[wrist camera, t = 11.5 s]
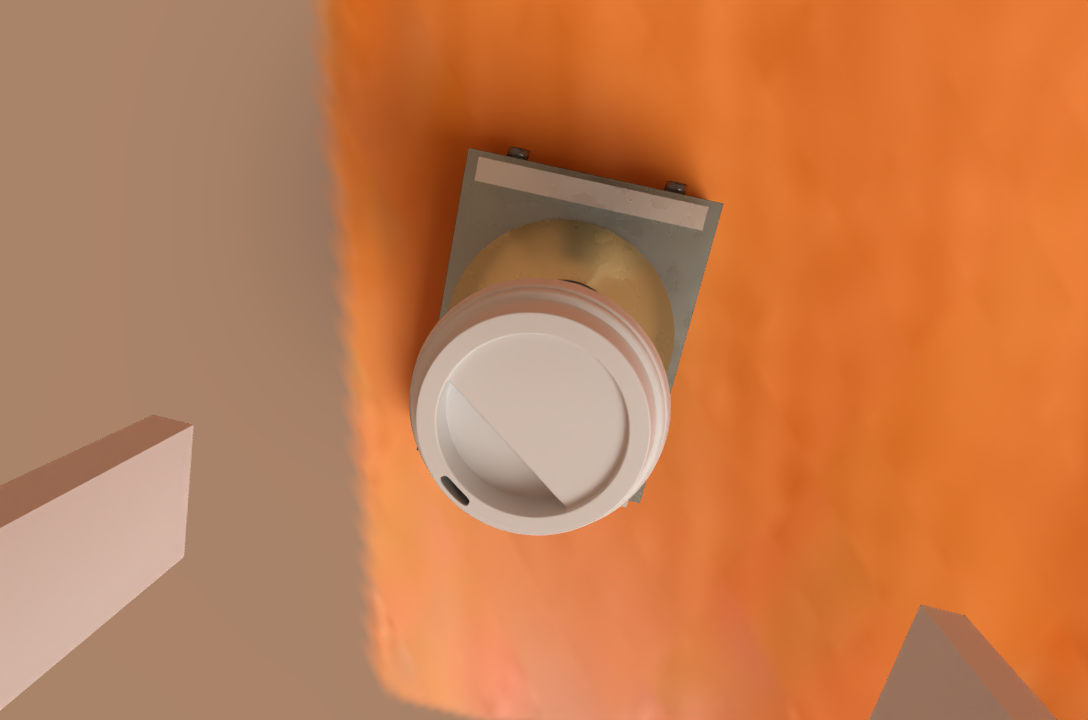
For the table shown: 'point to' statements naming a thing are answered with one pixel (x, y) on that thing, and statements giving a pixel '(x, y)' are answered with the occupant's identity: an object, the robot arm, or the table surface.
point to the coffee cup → (539, 405)
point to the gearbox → (584, 241)
